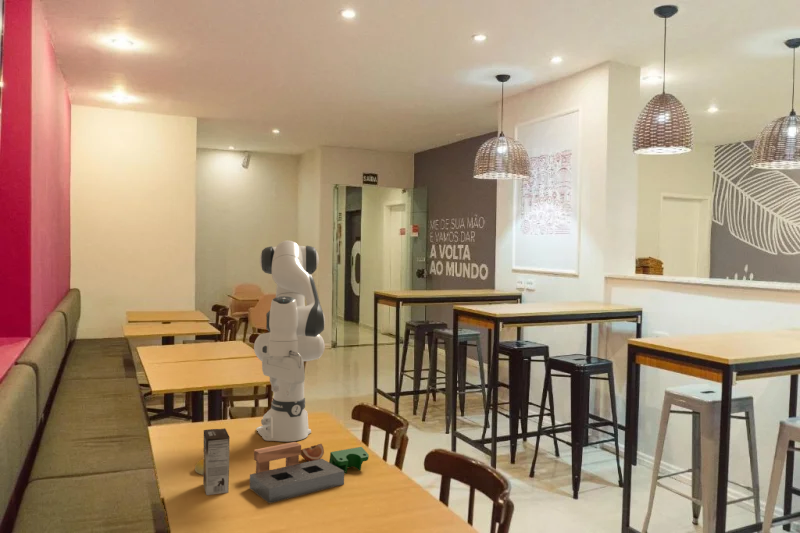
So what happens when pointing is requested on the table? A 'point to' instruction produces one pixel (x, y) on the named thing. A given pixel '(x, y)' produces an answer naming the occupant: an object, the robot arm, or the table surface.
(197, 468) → the bread roll
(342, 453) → the clamp
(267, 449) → the wooden bridge block
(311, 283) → the robot arm
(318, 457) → the fruit slice
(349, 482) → the table surface
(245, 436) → the table surface
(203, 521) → the table surface
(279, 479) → the cinder block
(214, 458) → the coffee box
